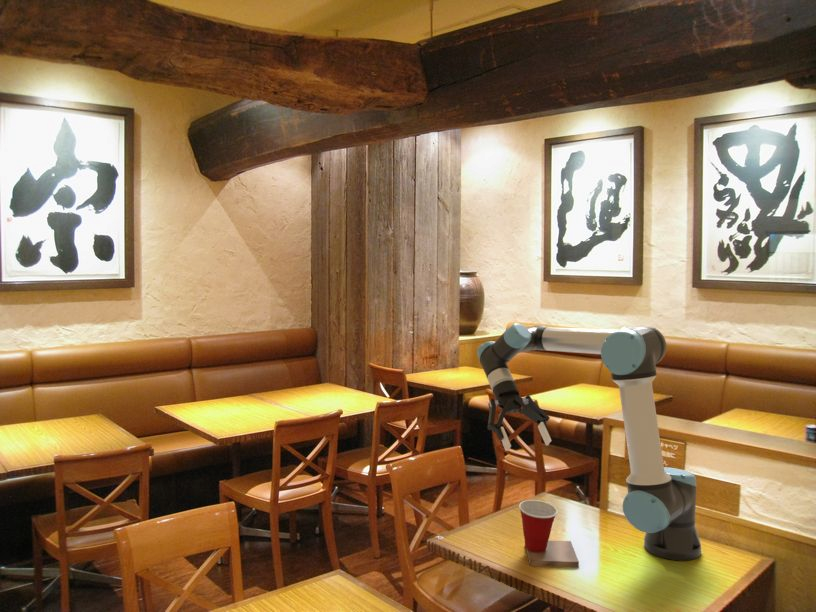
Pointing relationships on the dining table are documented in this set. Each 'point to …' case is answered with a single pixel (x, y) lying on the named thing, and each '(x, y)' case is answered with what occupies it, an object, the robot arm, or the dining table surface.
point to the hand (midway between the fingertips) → (528, 445)
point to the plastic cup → (537, 523)
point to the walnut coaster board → (554, 555)
